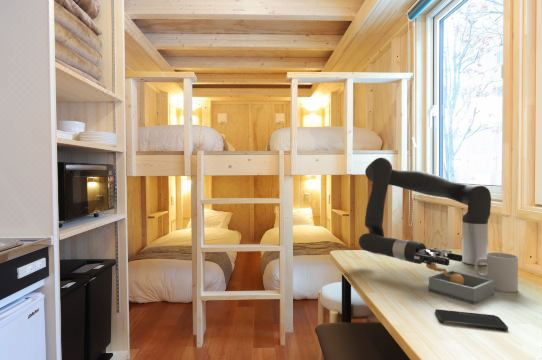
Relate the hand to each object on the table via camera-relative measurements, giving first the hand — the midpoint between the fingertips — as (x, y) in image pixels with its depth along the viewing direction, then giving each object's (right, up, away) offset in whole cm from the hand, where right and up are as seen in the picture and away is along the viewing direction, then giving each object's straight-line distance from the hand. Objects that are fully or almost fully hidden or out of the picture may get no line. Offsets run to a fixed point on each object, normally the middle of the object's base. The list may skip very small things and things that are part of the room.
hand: (455, 260), depth 106 cm
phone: (-9, -11, -22) cm, 26 cm away
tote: (+1, -10, -1) cm, 10 cm away
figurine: (+1, -8, -1) cm, 9 cm away
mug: (+15, -10, +4) cm, 19 cm away
